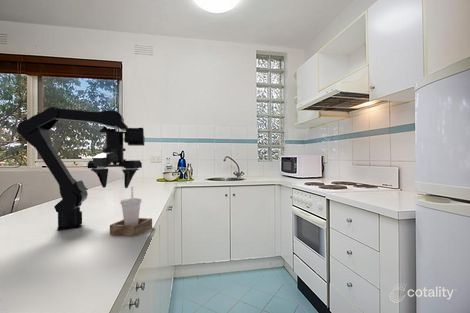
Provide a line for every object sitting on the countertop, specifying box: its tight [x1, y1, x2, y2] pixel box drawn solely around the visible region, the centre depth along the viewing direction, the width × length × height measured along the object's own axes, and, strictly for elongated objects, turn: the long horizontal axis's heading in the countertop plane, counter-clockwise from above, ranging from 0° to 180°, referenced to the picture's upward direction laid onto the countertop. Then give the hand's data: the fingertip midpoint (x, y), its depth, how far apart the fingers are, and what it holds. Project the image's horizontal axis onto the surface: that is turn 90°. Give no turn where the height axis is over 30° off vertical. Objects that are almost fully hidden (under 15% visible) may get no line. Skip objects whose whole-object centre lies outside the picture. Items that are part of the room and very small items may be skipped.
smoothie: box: [119, 186, 142, 226], centre depth 77 cm, size 6×6×14 cm
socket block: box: [109, 217, 153, 237], centre depth 77 cm, size 9×9×3 cm
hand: (115, 187), depth 86 cm, fingers open, 9 cm apart
